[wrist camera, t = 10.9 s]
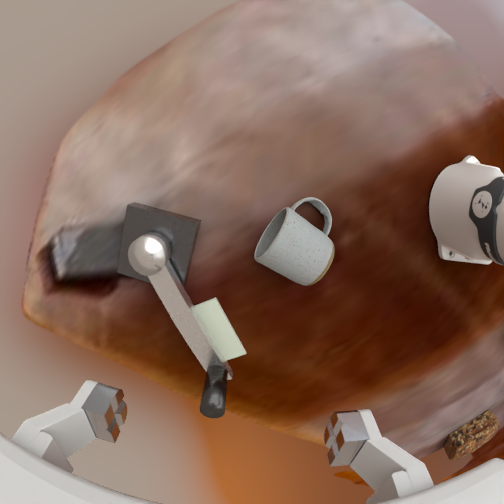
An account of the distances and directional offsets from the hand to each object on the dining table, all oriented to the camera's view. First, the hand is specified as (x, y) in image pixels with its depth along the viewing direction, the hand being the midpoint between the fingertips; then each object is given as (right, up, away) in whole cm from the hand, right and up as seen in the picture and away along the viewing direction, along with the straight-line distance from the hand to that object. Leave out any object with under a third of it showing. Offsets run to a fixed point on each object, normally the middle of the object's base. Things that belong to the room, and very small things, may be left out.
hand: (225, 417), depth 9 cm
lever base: (-12, +7, +30) cm, 33 cm away
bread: (+73, -53, +49) cm, 102 cm away
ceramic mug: (+7, +9, +30) cm, 32 cm away
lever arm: (-8, -2, +30) cm, 31 cm away
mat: (-6, -7, +34) cm, 35 cm away
